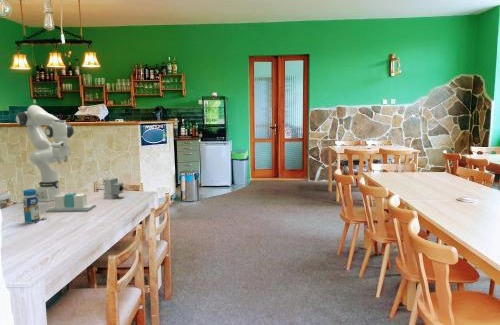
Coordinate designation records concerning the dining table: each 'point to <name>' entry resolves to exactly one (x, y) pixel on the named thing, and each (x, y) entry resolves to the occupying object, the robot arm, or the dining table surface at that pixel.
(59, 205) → the mounting panel
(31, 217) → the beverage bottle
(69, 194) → the block
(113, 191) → the circuit breaker
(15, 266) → the dining table surface
